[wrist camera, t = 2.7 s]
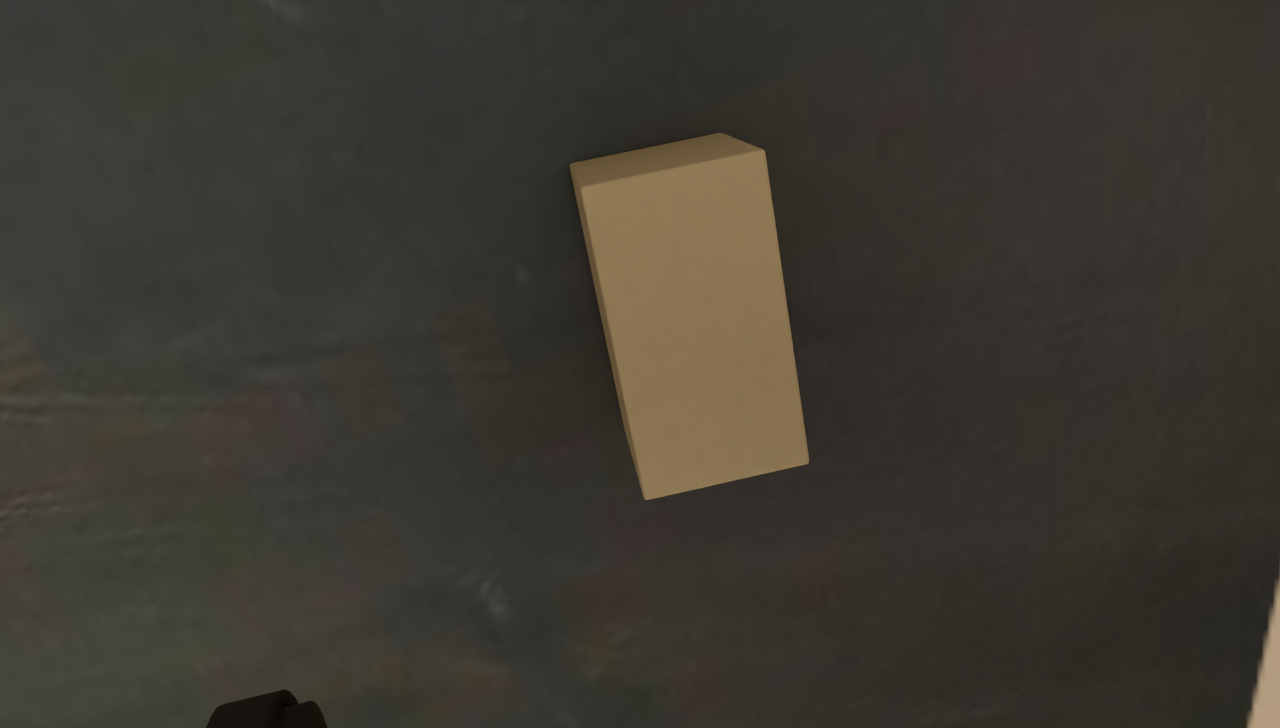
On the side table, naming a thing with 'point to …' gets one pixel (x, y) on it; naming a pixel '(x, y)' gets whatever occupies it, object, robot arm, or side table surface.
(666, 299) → the tan rectangular block
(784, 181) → the side table surface
